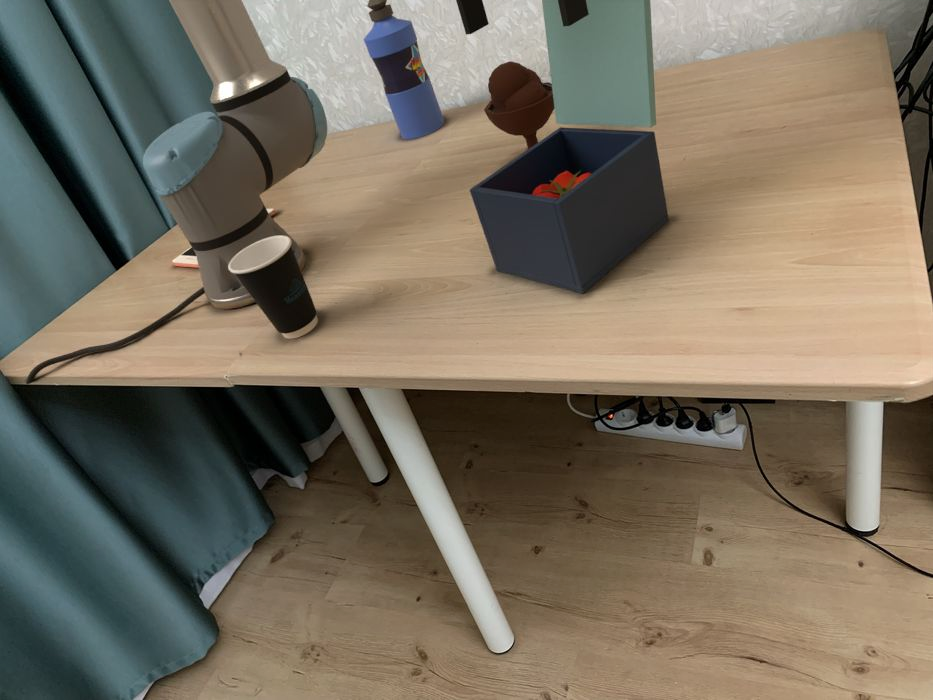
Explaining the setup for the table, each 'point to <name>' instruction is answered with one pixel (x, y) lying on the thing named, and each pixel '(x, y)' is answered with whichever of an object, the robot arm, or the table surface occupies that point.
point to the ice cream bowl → (519, 101)
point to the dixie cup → (276, 284)
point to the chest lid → (602, 64)
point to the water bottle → (402, 72)
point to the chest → (573, 206)
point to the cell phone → (190, 256)
